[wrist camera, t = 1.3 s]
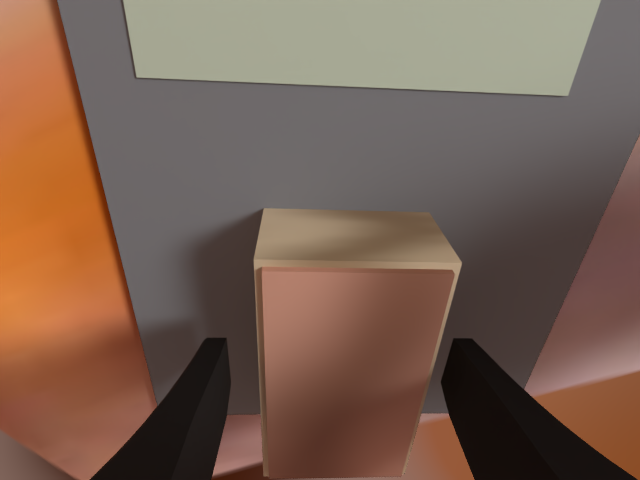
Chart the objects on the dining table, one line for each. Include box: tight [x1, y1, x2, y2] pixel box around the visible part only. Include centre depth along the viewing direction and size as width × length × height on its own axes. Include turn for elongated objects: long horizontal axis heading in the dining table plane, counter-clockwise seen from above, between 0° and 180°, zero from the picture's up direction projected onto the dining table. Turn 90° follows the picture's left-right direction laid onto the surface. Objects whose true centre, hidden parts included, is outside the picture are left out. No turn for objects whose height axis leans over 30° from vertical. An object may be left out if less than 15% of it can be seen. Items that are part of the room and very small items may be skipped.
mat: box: [57, 0, 640, 415], centre depth 11 cm, size 15×22×1 cm
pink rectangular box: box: [254, 208, 462, 479], centre depth 13 cm, size 5×9×3 cm, turn 177°
